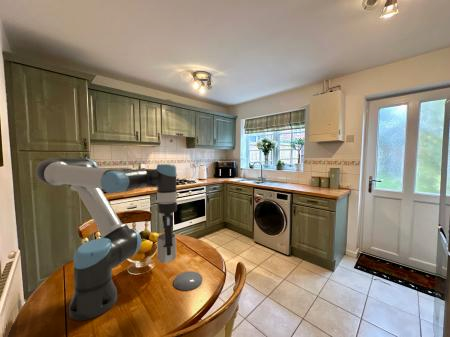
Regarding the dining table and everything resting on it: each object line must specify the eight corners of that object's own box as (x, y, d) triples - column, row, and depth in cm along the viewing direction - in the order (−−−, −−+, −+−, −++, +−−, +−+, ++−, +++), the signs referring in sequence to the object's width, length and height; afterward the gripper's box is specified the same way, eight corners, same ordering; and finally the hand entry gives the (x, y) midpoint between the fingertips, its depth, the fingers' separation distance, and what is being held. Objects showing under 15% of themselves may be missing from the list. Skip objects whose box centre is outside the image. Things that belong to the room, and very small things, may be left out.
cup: (154, 262, 73) (154, 240, 73) (163, 250, 83) (163, 230, 83) (173, 263, 73) (172, 240, 73) (180, 250, 83) (179, 230, 83)
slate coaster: (175, 293, 79) (175, 292, 79) (172, 275, 91) (172, 274, 91) (205, 286, 83) (205, 285, 83) (198, 270, 95) (198, 269, 95)
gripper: (179, 207, 68) (180, 268, 69) (174, 196, 89) (175, 243, 90) (157, 209, 65) (158, 272, 66) (157, 197, 86) (158, 245, 87)
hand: (168, 255), depth 78 cm, fingers closed on cup, 10 cm apart
